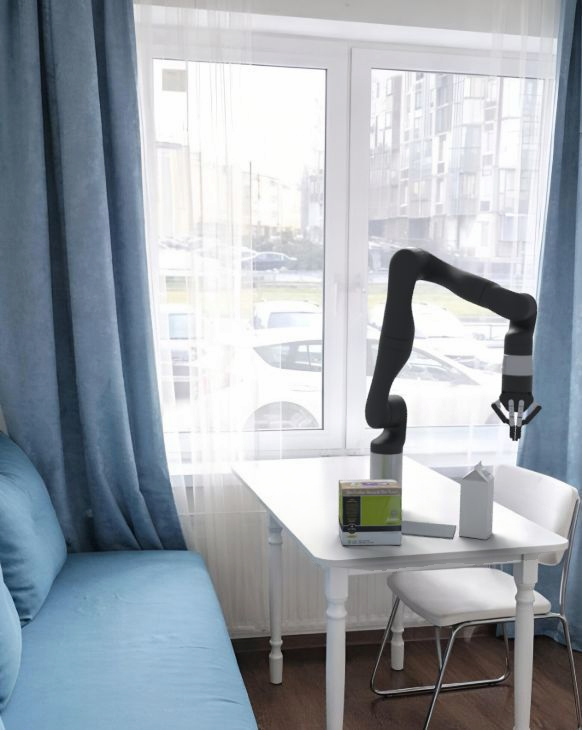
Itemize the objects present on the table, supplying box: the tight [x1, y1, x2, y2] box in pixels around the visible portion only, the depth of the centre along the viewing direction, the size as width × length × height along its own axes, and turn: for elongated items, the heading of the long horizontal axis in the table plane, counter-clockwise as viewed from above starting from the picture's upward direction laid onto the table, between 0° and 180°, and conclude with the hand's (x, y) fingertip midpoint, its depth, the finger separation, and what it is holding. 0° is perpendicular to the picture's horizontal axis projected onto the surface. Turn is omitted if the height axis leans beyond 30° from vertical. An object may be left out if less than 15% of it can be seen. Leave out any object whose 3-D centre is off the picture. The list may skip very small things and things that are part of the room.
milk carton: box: [458, 459, 495, 540], centre depth 214 cm, size 7×7×19 cm
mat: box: [402, 520, 457, 540], centre depth 219 cm, size 11×19×1 cm, turn 75°
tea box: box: [337, 479, 403, 546], centre depth 209 cm, size 15×10×15 cm
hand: (514, 440), depth 210 cm, fingers closed
